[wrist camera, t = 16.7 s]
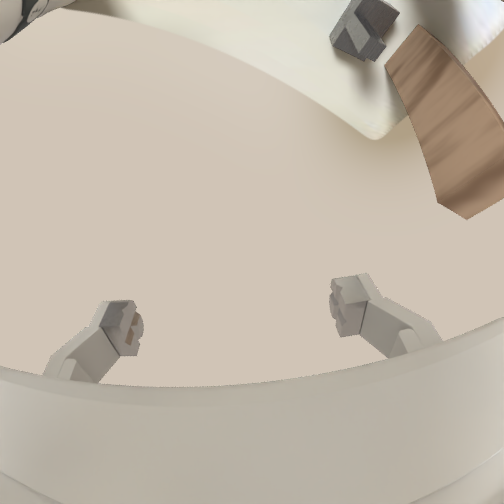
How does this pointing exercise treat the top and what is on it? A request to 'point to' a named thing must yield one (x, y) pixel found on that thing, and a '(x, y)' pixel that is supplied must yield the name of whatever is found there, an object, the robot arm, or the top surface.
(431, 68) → the pedestal
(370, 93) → the top surface
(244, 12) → the top surface
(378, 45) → the brushed metal plate
